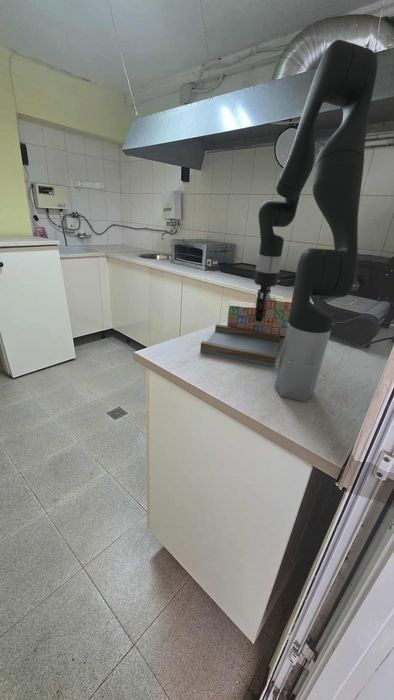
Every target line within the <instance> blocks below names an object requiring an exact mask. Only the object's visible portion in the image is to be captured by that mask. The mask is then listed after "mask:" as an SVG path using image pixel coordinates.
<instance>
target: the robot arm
mask: <svg viewBox="0 0 394 700" xmlns="http://www.w3.org/2000/svg"><path fill="white" fill-rule="evenodd" d="M319 61H320V62H319V64H318V67H317V69H316V71H315V74H314V77H313V79H312V82H311V84H310V88H309V92H308V94H307V98H306V101H305V105H304V107H303V111H302V114H301V117H300V120H299V124H298V126H297V130H296V134H295V137H294V141H293V143H292V147H291V149H290V153H289V155H288V158H287V160H286V162H285V164H284V166H283V169H282V172H281V174H280V176H279V178H278V181H277V183H276V186H275V188H276V189H275V190H276V193H277V194H278V195H279V196H281V197H283V198H284V200H272V199H271V200H265V201H264V202H263V203H262V204H261V205H260V208H259V210H258V226H259V234H260V237H259V238H260V244H259V251H258V257H257V261H256V268H255V273H254V274H255V276H254V284H255V285H258V286H260V288H259V289H258V290H257V294H256V295H258V297H257V304H256V310H257V313H256V319H255V320H256V321H260V322H261V321H262V318H263V312H264V310H265V309H264V308H265V305H267V300H268V297H269V296H271V293H272V290H271V288H272V287H277V285H278V282H279V276H280V269H281V265H282V255H283V249H284V243H285V241H284V240H285V239H284V237H282V235H277V234H275V232H274V228H286V227H288V226H289V225H291V223H292V222H293V221H294V219H295V217H296V214H297V209H298V206H299V205H298V204H299V202H300V196H301V194H302V193H301V192H302V191H303V189H304V186H305V185H306V183H307V181H308V179H309V177H310V175H311V173H312V171H313V180H312V195H313V198H314V200H315V203H316V205H317V207H318V209H319V211H320V212H321V214H322V216H323V218H324V219H325V221H326V222H327V224H328V226H329V229H330V231H331V233H332V237H333V246H334V249H328V248H327V249H326V248H317V247H316V248H311V247H310V248H306V249H304V251H302V253H301V254H300V256H299V259H298V262H297V266H296V272H295V279H294V287H293V293H292V297H291V298H292V303H291V308H290V314H289V319H288V323H287V328H286V333H285V336H284V339H283V343H282V347H281V348H282V349H281V352H280V358H279V362H278V367H277V373H276V378H275V383H274V388H275V390H276V391H277V392H278V393H279V395H278V396H279V397H282V398H287V399H292V400H296V401H300V402H304V403H307V401H308V399H311V398H312V397H313V395H314V393H315V388H316V385H317V381H318V378H319V374H320V371H321V367H322V364H323V360H324V357H325V352H326V349H327V346H328V343H329V338H330V336H331V332H332V329H333V326H334V325H333V324H334V319H335V318H334V316H333V314H331V313H330V312H329V311H327V310H325V309H323V308H321V307H318V306H317V305H315V304H313V302H311V297H312V296H317V297H328V298H329V297H331V298H345V297H347V296H348V295H349V294H350V293H351V291H352V290H353V288H354V286H355V282H356V278H357V271H358V257H359V255H358V254H359V253H358V250H359V249H358V247H359V245H358V243H359V241H358V239H359V237H358V227H359V225H358V223H359V208H360V200H361V190H362V184H363V175H364V165H365V150H366V149H365V147H366V139H367V138H366V137H367V129H368V121H369V116H370V115H369V114H370V108H371V104H372V99H373V94H374V89H375V84H376V78H377V74H378V57H377V53H376V52H375V51H374V50H372V49H371V48H367V47H365V46H363V45H359V44H356V43H354V42H353V43H352V42H350V41H346V40H343V39H336V40H334V41H333V42H331V44H330V45H329V46H328V47H327V49H326V50H325V52H324V54H323V55H322V57H321V60H319ZM324 103H326V104H329V105H333V106H336V107H339V108H341V109H342V112H343V115H342V121H341V124H340V125H339V127H338V128H337V129H336V130H335V132H333V134H332V135H331V137H330V138H329V139H328V140H327V141H326V143H325V144H324V145H323V147H321V149H320V151H319V152H318V154H317V157H316V139H315V138H316V136H315V135H316V133H315V132H316V126H317V125H316V124H317V120H318V117H319V113H320V110H321V109H322V106H323V104H324ZM315 158H316V159H315ZM313 169H314V170H313ZM265 300H266V301H265ZM259 304H263V306H262V307H259Z"/></svg>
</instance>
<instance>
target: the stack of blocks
mask: <svg viewBox="0 0 394 700" xmlns="http://www.w3.org/2000/svg"><path fill="white" fill-rule="evenodd" d="M257 297H258V294H256V295H255V300H254V301H255V302H246V301H236V300H229V305H228V312H227V325H226V326H231V327H236V328H242V329H248V330H253V331H259V332H265V333H270V334H276V335H281V336H280V337H285V333H286V328H287V323H288V319H289V314H290V308H291V303H292V298H293V297H286V296H280V295H270V296H269V297H268V300H267V305H265V308H264V309H265V310H264V312H263V318H262V321H261V322H260V321H256V320H255V319H256V313H257V310H256V304H257ZM265 301H266V300H265ZM262 306H263V304H259V307H262Z"/></svg>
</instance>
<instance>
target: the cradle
mask: <svg viewBox="0 0 394 700" xmlns="http://www.w3.org/2000/svg"><path fill="white" fill-rule="evenodd" d="M281 337H282V336H281V335H276V334H270V333H265V332H259V331H253V330H248V329H242V328H236V327H231V326H227V325H223V324H218V323H217V324H215V329H214V331H213V333H212V334H211V336H210V337H209V338H208V339H207V340H206V341H205V340H202V341H201V342H200V348H199V349H200V350H199V352H200V353H204V354H209V355H213V356H219V357H223V358H228V359H232V360H237V361H242V362H247V363H250V364H251V363H253V364H256V365H257V364H258V365H262V366H267V367H272V368H274V367H275V363H276V357H277V353H278V348H279V345H280V341H281Z"/></svg>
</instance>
